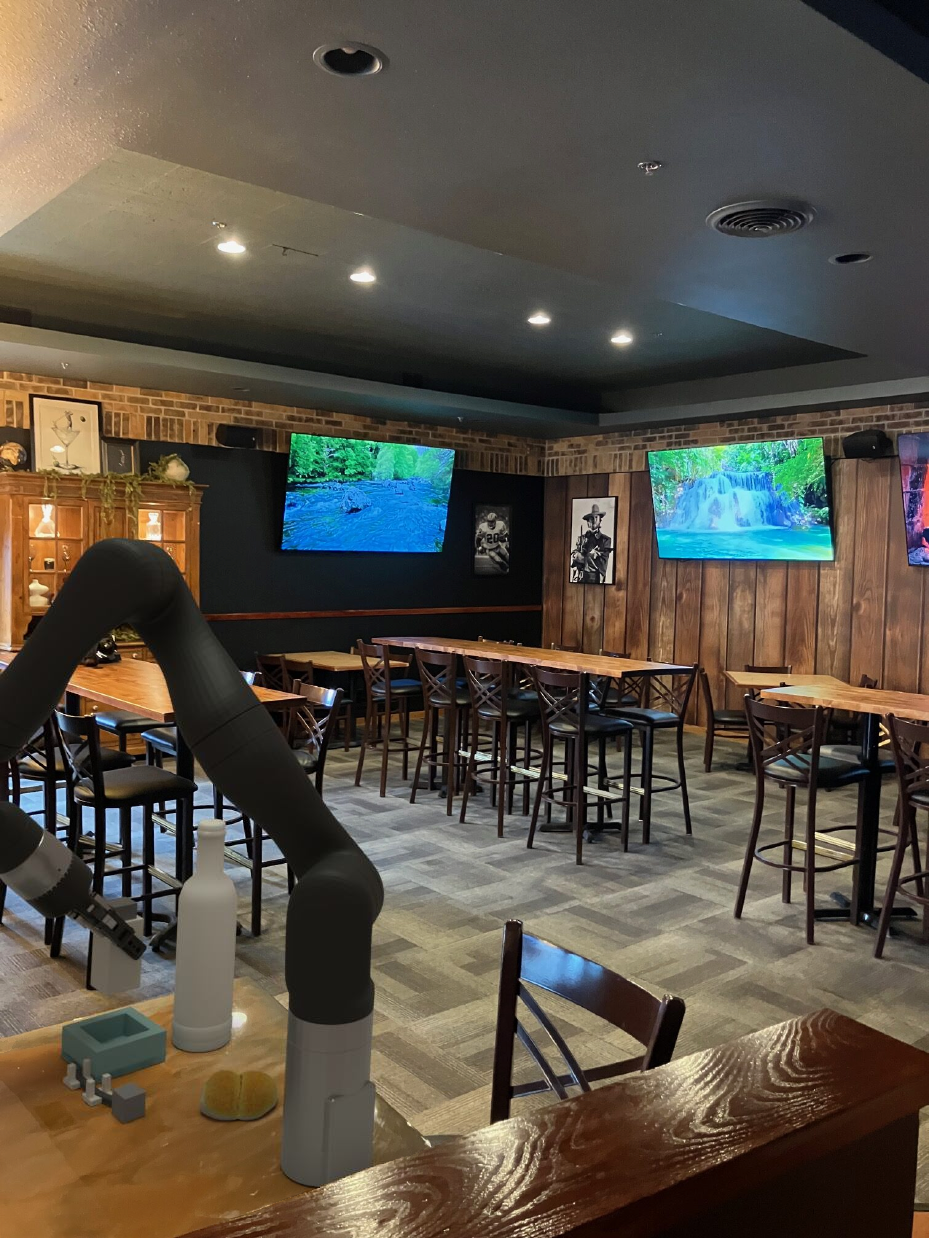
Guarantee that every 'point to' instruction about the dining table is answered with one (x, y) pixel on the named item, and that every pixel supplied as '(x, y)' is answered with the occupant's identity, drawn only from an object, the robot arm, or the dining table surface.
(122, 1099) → the cable run
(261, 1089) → the bread roll
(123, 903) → the block
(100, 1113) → the dining table surface
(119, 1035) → the end socket
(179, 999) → the bottle
